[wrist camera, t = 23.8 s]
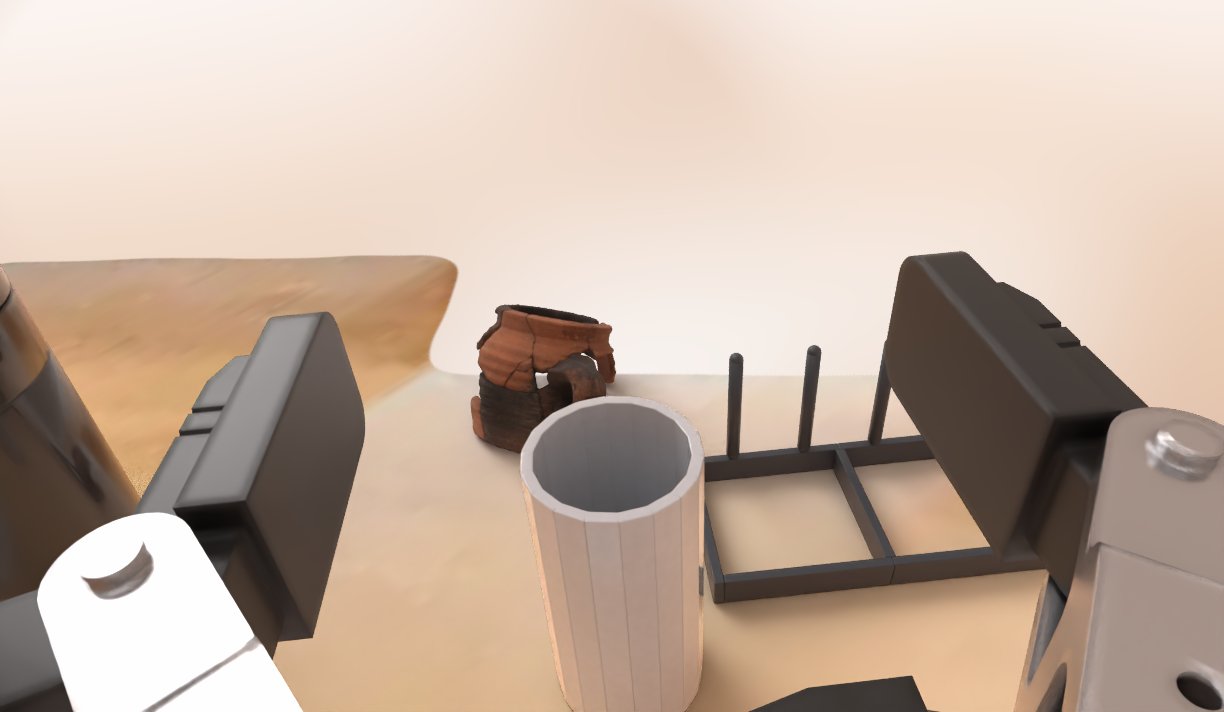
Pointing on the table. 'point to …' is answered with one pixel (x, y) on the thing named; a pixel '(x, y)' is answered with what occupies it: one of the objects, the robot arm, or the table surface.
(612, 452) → the tumbler
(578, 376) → the pottery mug
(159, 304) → the table surface
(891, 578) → the dish rack
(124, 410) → the table surface
